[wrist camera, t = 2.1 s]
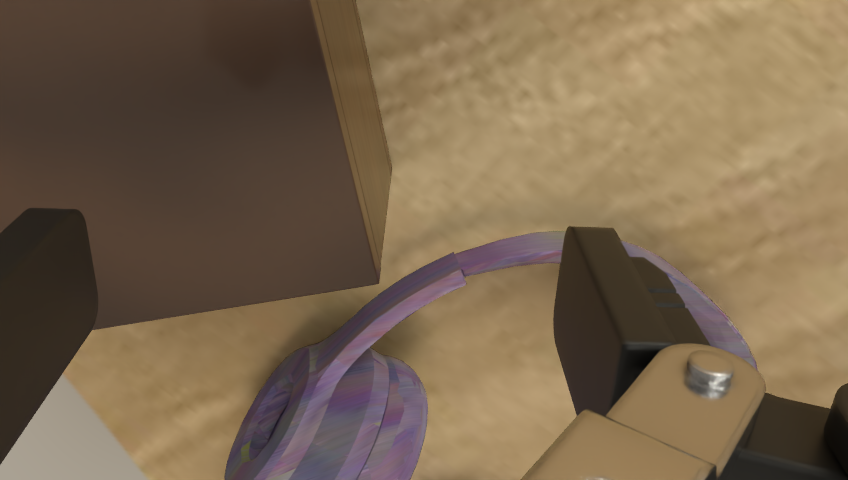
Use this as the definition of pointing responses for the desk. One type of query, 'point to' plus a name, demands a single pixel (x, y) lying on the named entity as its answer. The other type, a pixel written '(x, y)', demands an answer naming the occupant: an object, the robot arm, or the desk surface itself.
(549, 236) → the headphones
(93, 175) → the cabinet
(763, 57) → the desk surface
